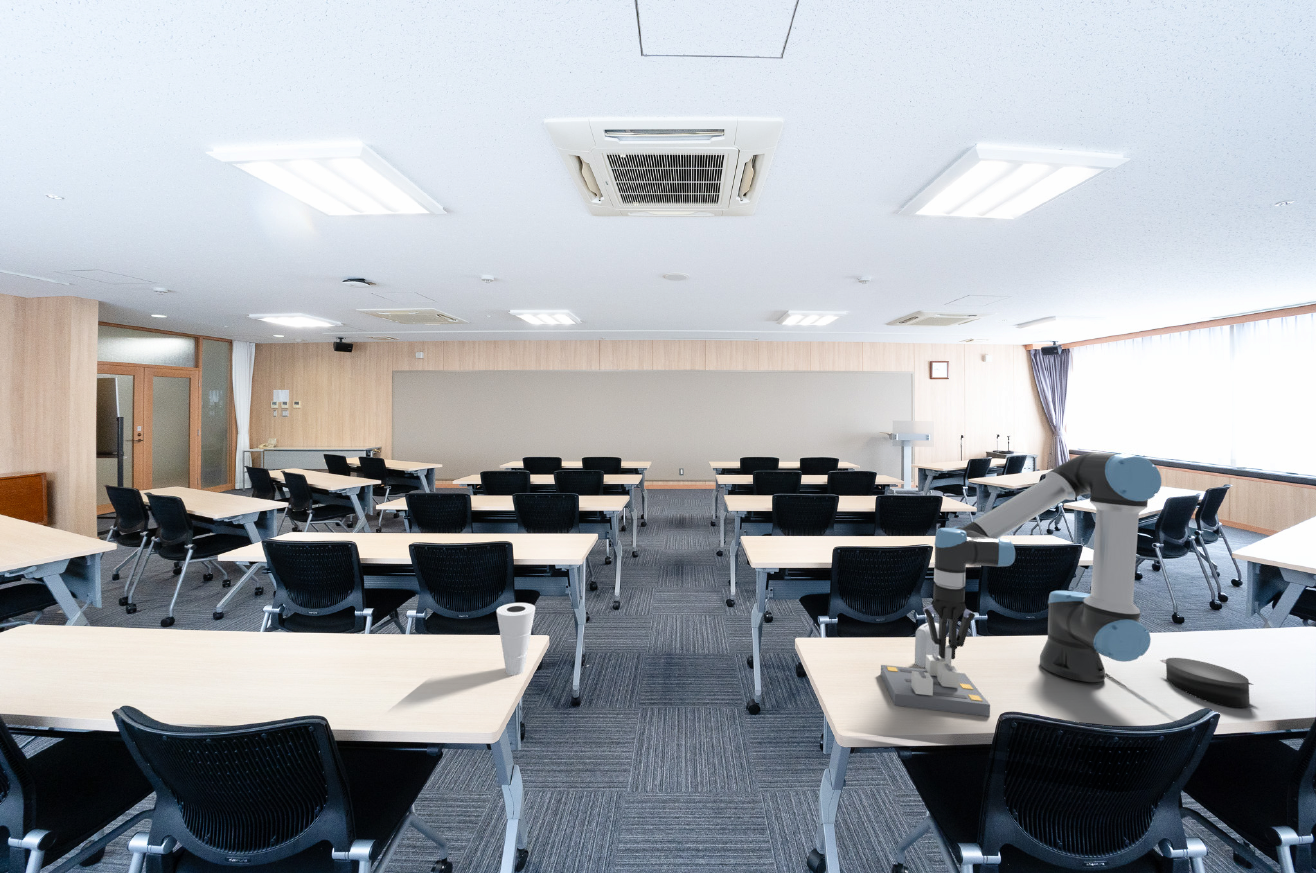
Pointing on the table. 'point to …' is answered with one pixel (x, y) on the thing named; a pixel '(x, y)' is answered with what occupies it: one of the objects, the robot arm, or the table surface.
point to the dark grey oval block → (1208, 681)
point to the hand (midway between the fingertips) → (946, 669)
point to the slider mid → (948, 676)
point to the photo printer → (925, 644)
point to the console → (934, 693)
